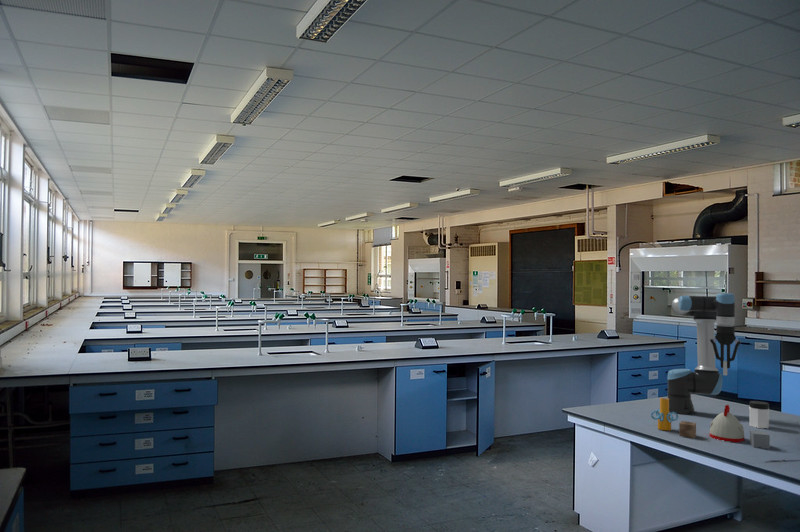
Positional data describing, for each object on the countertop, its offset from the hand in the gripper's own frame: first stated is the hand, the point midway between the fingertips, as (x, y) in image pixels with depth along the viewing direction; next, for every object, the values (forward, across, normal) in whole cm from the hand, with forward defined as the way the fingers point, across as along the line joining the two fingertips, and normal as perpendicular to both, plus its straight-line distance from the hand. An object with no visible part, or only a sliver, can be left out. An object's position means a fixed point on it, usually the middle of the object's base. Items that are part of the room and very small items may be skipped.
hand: (725, 374), depth 261 cm
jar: (+29, +12, +26) cm, 41 cm away
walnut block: (+28, -14, -17) cm, 35 cm away
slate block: (+28, +14, -15) cm, 34 cm away
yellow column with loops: (+28, -24, -11) cm, 39 cm away
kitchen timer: (+28, +2, -9) cm, 29 cm away
